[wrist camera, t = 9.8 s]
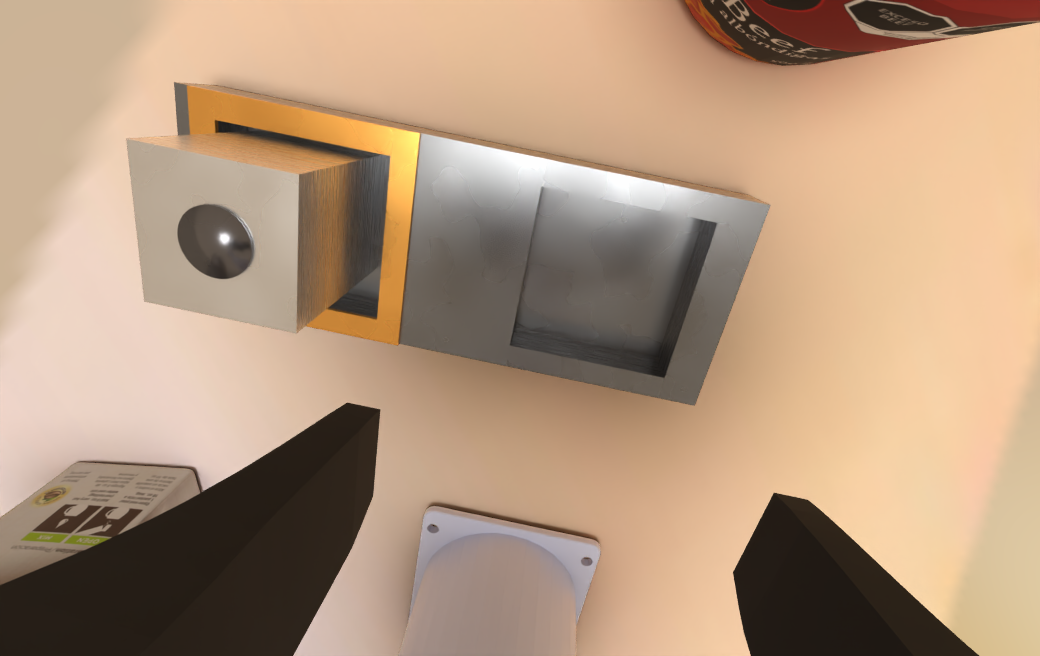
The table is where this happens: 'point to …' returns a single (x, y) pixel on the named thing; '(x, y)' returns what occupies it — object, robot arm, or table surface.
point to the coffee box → (86, 511)
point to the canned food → (849, 25)
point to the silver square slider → (254, 223)
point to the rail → (525, 250)
